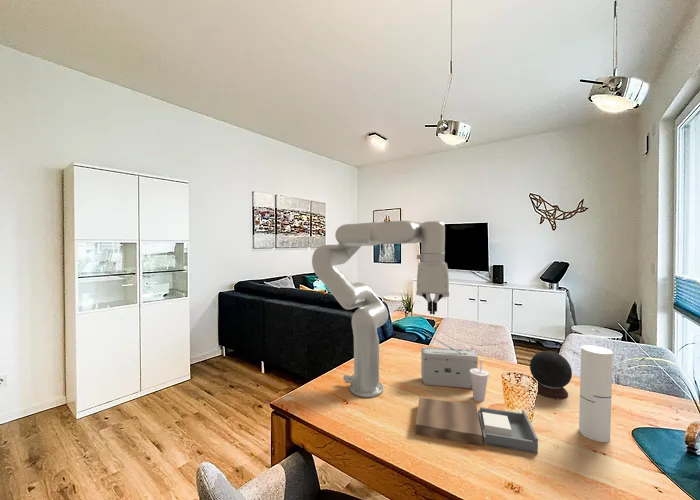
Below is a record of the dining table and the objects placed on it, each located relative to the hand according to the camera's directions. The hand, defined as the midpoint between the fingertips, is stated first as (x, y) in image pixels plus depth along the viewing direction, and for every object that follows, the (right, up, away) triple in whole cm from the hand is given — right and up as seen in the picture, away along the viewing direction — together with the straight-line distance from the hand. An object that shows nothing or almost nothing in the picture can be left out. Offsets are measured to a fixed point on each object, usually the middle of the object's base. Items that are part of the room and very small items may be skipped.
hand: (432, 313), depth 103 cm
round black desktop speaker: (+47, -32, +12) cm, 58 cm away
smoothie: (+18, -32, +7) cm, 38 cm away
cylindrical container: (+44, -33, -13) cm, 56 cm away
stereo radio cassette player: (+11, -32, +19) cm, 39 cm away
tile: (+16, -32, -11) cm, 37 cm away
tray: (+18, -33, -13) cm, 39 cm away
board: (+2, -32, -8) cm, 33 cm away
